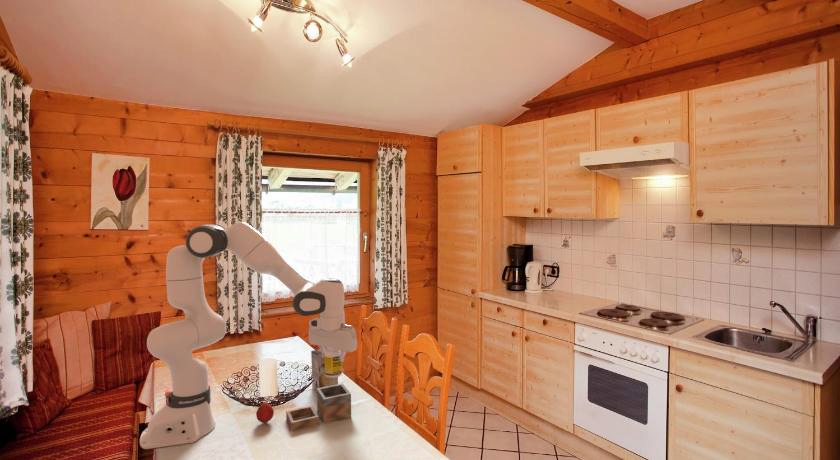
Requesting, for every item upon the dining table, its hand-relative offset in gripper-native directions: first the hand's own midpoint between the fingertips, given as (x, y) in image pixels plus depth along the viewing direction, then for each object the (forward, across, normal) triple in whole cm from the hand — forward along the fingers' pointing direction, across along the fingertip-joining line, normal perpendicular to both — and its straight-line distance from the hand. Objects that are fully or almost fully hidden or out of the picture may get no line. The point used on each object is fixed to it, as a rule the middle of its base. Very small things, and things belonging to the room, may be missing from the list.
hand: (333, 359), depth 162 cm
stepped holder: (+21, +3, +5) cm, 22 cm away
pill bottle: (+6, 0, 0) cm, 6 cm away
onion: (+21, +17, +17) cm, 32 cm away
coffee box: (+21, +19, -17) cm, 33 cm away
